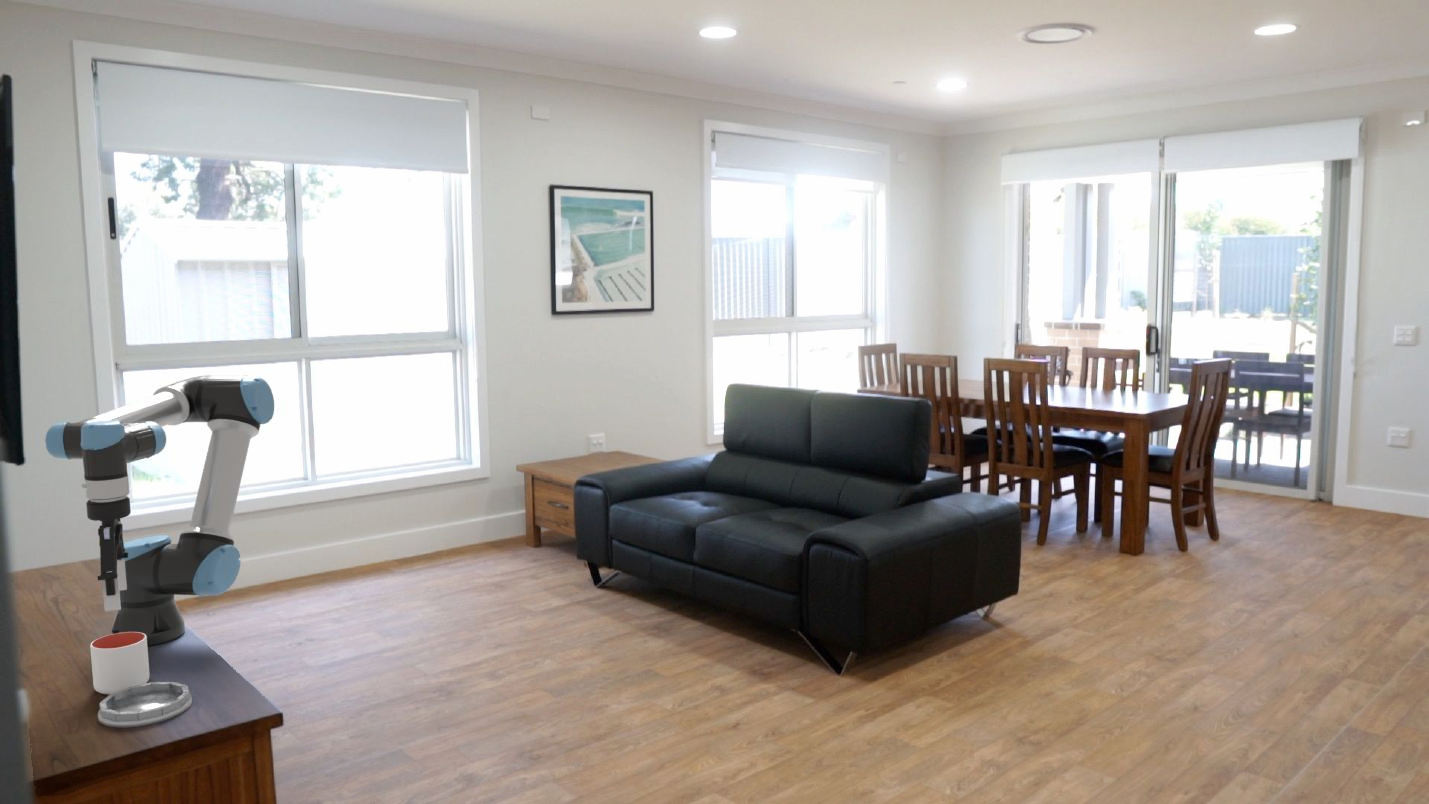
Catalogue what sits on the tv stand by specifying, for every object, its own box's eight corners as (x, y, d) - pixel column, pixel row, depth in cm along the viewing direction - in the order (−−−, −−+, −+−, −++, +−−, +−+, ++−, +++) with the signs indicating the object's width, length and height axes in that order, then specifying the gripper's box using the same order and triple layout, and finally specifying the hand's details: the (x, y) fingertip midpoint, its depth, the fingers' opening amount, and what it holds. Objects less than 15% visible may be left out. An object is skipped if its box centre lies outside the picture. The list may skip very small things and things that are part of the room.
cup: (138, 673, 216) (134, 628, 215) (158, 685, 210) (154, 639, 209) (86, 688, 209) (82, 641, 208) (105, 701, 203) (101, 653, 201)
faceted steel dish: (123, 694, 206) (122, 682, 205) (205, 691, 207) (204, 679, 207) (81, 729, 190) (80, 716, 190) (170, 726, 191) (169, 713, 191)
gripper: (93, 487, 214) (101, 585, 217) (77, 513, 191) (87, 621, 194) (134, 484, 217) (141, 580, 220) (123, 509, 195) (132, 616, 198)
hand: (116, 600), depth 207 cm, fingers open, 13 cm apart
